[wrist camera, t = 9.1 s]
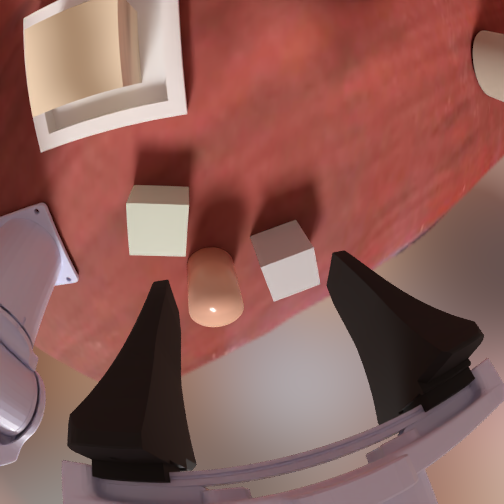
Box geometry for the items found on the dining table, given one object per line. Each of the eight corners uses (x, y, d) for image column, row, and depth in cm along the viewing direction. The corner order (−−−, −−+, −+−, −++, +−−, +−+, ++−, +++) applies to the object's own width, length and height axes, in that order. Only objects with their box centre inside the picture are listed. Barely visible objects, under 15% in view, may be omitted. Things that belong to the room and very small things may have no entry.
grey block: (262, 269, 25) (273, 301, 22) (249, 235, 23) (260, 267, 20) (303, 254, 25) (320, 283, 22) (295, 219, 23) (313, 247, 20)
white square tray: (52, 144, 14) (40, 152, 13) (35, 20, 8) (23, 18, 7) (187, 110, 16) (187, 114, 14) (178, -26, 9) (177, -35, 8)
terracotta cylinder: (191, 286, 25) (194, 330, 21) (182, 251, 22) (183, 295, 18) (235, 279, 25) (245, 322, 21) (231, 243, 23) (241, 286, 19)
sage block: (135, 231, 20) (129, 254, 18) (134, 184, 18) (126, 203, 16) (185, 232, 21) (185, 256, 19) (188, 185, 19) (189, 205, 17)
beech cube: (70, 102, 13) (32, 117, 9) (63, 35, 10) (24, 29, 6) (141, 82, 13) (123, 87, 9) (137, 11, 10) (117, -9, 6)
